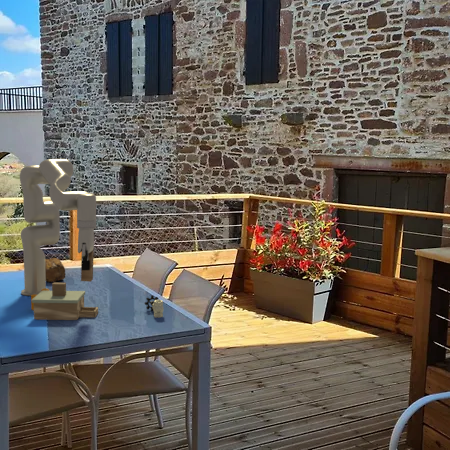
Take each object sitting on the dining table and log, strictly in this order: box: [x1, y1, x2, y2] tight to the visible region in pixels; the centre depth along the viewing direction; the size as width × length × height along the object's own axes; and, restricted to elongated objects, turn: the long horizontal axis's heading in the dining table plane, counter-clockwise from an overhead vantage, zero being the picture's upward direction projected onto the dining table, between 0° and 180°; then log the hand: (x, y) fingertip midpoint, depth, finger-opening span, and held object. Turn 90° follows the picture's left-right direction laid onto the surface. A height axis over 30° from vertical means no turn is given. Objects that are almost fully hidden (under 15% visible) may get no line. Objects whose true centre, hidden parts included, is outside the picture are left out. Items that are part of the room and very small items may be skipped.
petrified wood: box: [45, 257, 67, 283], centre depth 312 cm, size 19×13×10 cm
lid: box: [32, 282, 86, 303], centre depth 248 cm, size 15×18×6 cm
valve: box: [144, 295, 165, 319], centre depth 253 cm, size 7×7×12 cm
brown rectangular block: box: [80, 250, 95, 283], centre depth 247 cm, size 4×4×12 cm
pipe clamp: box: [30, 288, 50, 311], centre depth 261 cm, size 12×4×6 cm, turn 172°
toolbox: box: [33, 295, 99, 321], centre depth 249 cm, size 14×24×7 cm, turn 91°
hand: (86, 268), depth 247 cm, fingers closed on brown rectangular block, 4 cm apart
